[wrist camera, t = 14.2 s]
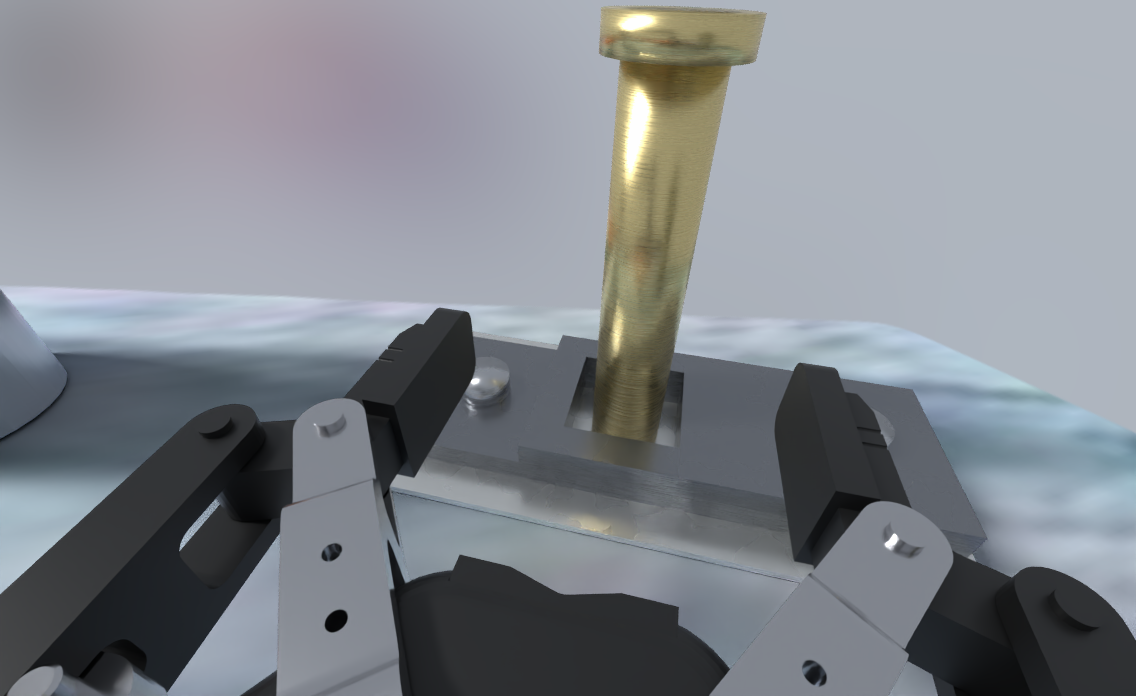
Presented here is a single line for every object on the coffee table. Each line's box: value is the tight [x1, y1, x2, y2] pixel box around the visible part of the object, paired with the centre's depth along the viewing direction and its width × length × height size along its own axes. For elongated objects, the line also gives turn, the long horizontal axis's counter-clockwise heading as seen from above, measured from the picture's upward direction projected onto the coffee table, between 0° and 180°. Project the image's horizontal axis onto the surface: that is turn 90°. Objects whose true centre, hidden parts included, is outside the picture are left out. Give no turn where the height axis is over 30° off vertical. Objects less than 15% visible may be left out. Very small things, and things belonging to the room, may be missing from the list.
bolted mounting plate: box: [390, 332, 987, 583], centre depth 25 cm, size 28×13×4 cm, turn 77°
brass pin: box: [592, 6, 766, 443], centre depth 21 cm, size 5×5×19 cm
